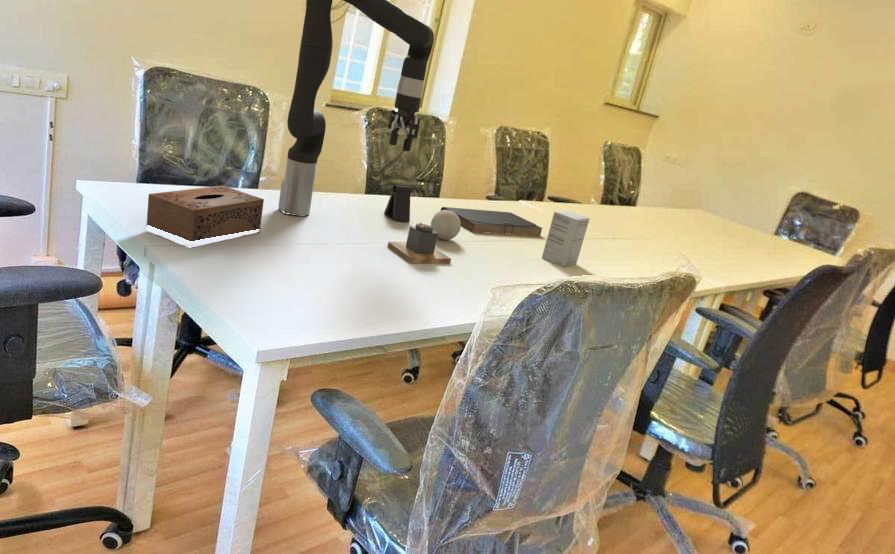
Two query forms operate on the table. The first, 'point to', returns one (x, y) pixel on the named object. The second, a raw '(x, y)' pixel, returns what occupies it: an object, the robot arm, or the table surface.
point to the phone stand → (399, 204)
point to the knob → (422, 239)
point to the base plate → (418, 258)
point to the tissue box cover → (204, 212)
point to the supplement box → (565, 238)
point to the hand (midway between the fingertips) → (399, 147)
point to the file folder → (494, 221)
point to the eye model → (446, 224)
